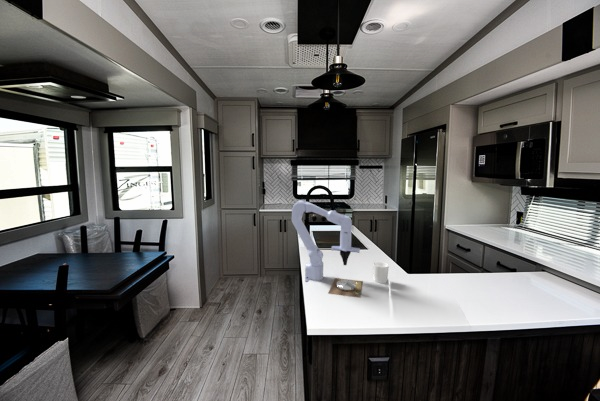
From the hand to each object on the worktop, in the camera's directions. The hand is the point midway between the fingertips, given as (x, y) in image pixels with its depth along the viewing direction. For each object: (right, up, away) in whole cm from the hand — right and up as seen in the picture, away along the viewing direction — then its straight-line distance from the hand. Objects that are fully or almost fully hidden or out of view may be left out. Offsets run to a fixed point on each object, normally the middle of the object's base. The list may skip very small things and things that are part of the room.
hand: (345, 264), depth 145 cm
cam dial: (0, -9, -10) cm, 14 cm away
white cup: (+18, -10, 0) cm, 21 cm away
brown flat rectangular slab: (-1, -11, -8) cm, 13 cm away
